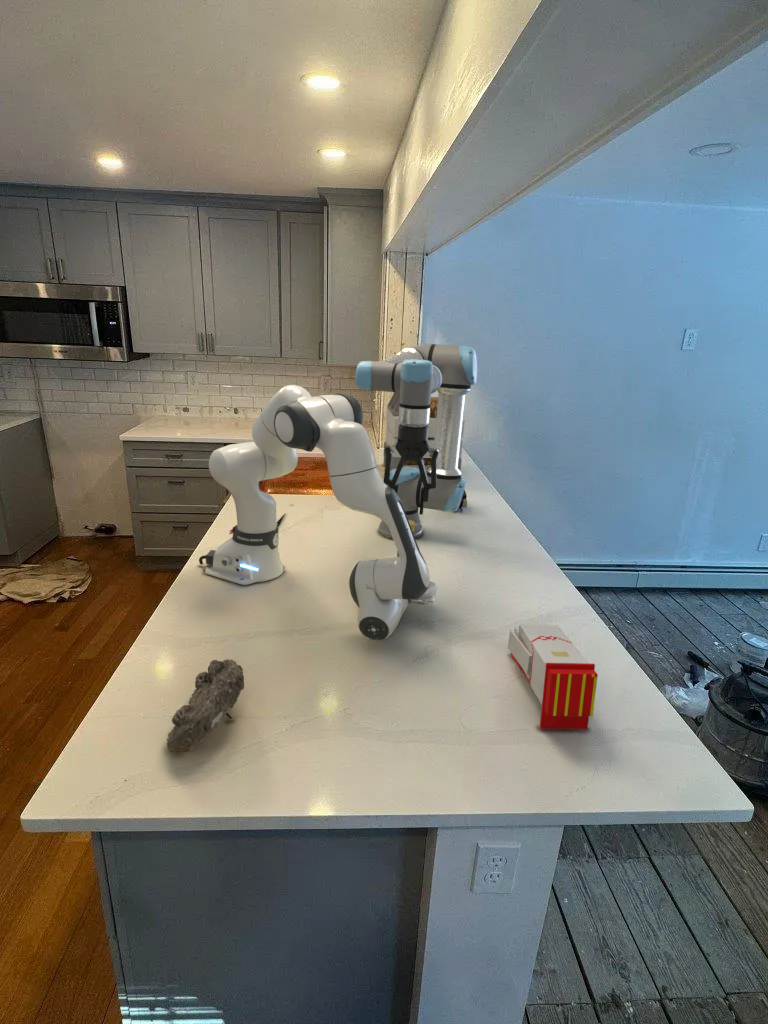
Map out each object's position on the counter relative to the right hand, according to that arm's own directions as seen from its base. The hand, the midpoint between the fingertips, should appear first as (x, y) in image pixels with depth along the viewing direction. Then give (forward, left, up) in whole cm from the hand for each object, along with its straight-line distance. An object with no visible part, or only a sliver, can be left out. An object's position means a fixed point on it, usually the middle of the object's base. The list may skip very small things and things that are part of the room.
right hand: (408, 511), depth 148 cm
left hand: (0, 0, -18) cm, 18 cm away
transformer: (-87, +91, -25) cm, 128 cm away
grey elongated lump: (+14, -62, -25) cm, 69 cm away
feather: (-72, +5, -25) cm, 76 cm away
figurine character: (-42, +68, -25) cm, 84 cm away
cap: (0, 0, -3) cm, 3 cm away
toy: (+48, -3, -25) cm, 54 cm away
